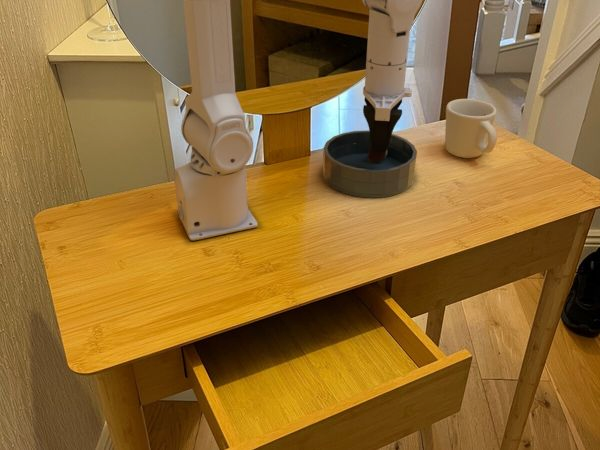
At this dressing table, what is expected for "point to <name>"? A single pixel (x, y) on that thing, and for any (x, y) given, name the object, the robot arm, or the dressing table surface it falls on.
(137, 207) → the dressing table surface
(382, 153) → the stick
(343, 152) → the bowl
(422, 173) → the dressing table surface
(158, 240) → the dressing table surface
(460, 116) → the cup
